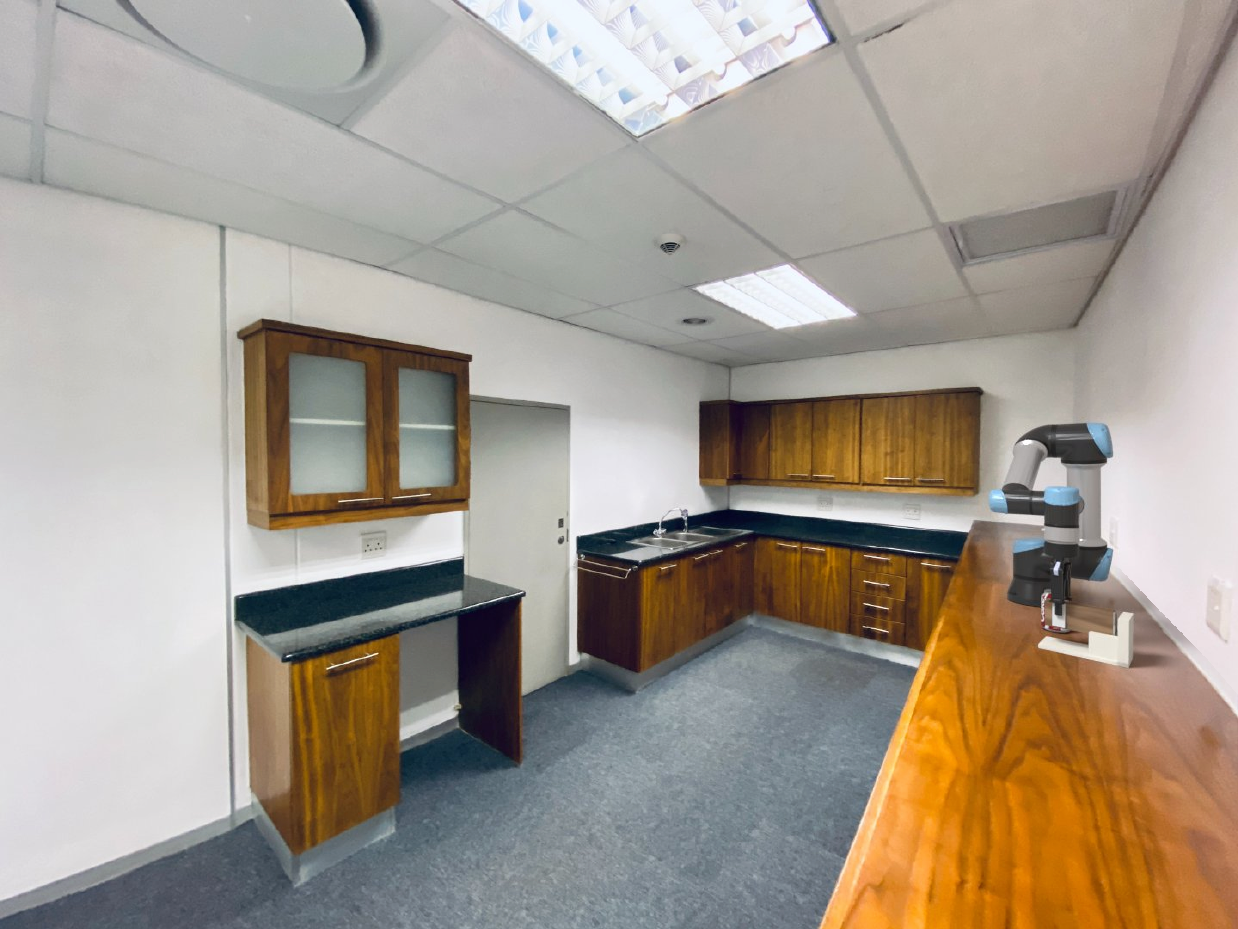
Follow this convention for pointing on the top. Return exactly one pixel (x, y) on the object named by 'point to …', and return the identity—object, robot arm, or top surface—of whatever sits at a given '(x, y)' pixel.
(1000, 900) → the top surface
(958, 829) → the top surface
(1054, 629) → the soda can
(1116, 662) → the white slotted holder
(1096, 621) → the brown rectangular block
